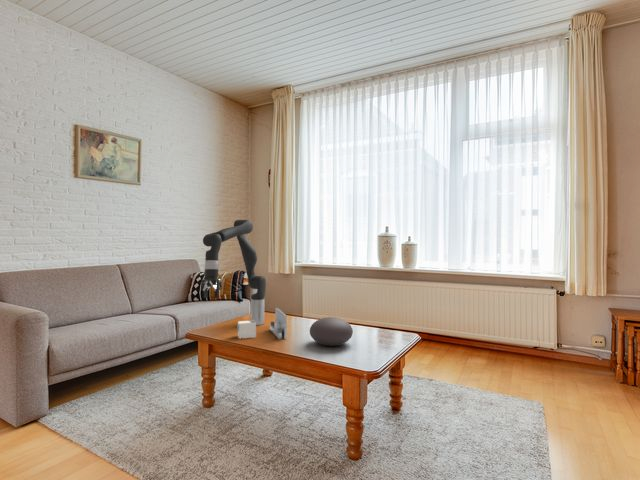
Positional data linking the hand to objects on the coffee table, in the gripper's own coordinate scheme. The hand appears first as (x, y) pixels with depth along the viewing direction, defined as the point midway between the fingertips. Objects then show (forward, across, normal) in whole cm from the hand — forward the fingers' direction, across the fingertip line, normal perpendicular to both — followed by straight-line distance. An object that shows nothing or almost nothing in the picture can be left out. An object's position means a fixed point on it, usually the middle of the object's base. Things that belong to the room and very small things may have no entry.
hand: (210, 297), depth 202 cm
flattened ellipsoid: (+28, -53, -42) cm, 73 cm away
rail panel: (+23, -15, -41) cm, 49 cm away
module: (+24, -3, -26) cm, 35 cm away
